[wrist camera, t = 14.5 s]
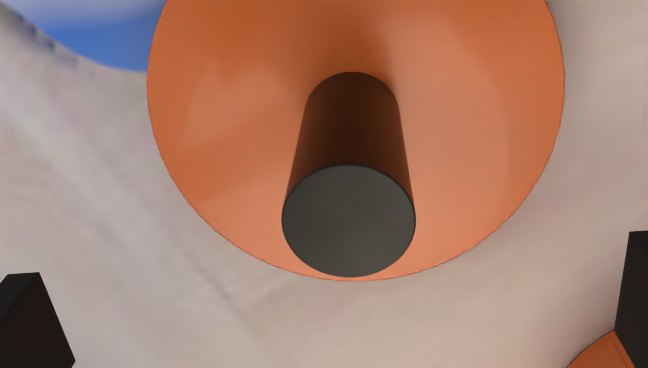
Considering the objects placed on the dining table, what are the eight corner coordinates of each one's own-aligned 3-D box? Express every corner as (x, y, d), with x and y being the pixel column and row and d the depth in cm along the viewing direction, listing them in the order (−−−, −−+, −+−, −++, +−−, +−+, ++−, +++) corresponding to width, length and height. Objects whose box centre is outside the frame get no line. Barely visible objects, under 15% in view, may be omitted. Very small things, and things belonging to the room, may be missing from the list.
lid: (201, 274, 28) (141, 431, 20) (107, -87, 20) (-42, -57, 13) (541, 255, 26) (616, 417, 19) (574, -143, 19) (718, -146, 11)
